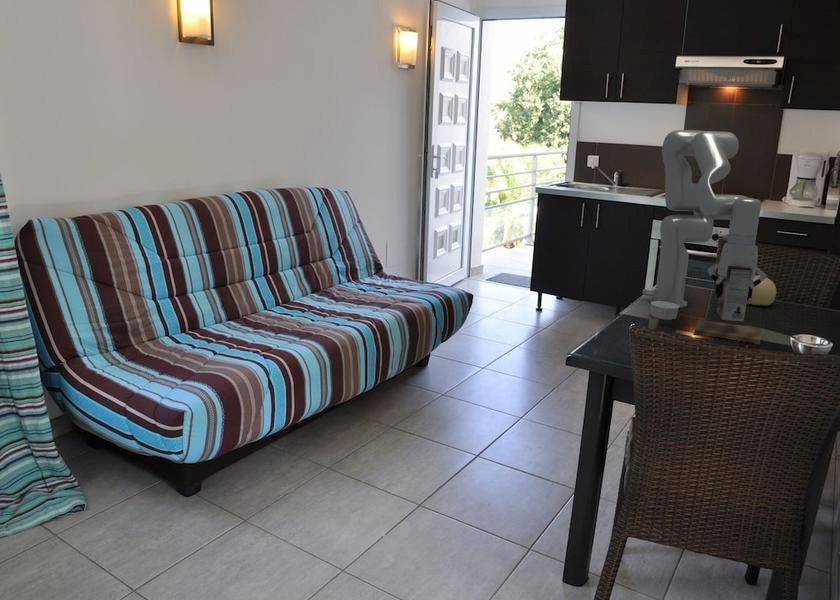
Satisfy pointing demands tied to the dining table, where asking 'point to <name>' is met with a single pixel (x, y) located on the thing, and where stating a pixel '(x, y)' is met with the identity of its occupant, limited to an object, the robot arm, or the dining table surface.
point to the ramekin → (664, 310)
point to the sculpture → (763, 292)
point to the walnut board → (728, 331)
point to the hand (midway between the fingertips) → (732, 298)
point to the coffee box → (734, 293)
